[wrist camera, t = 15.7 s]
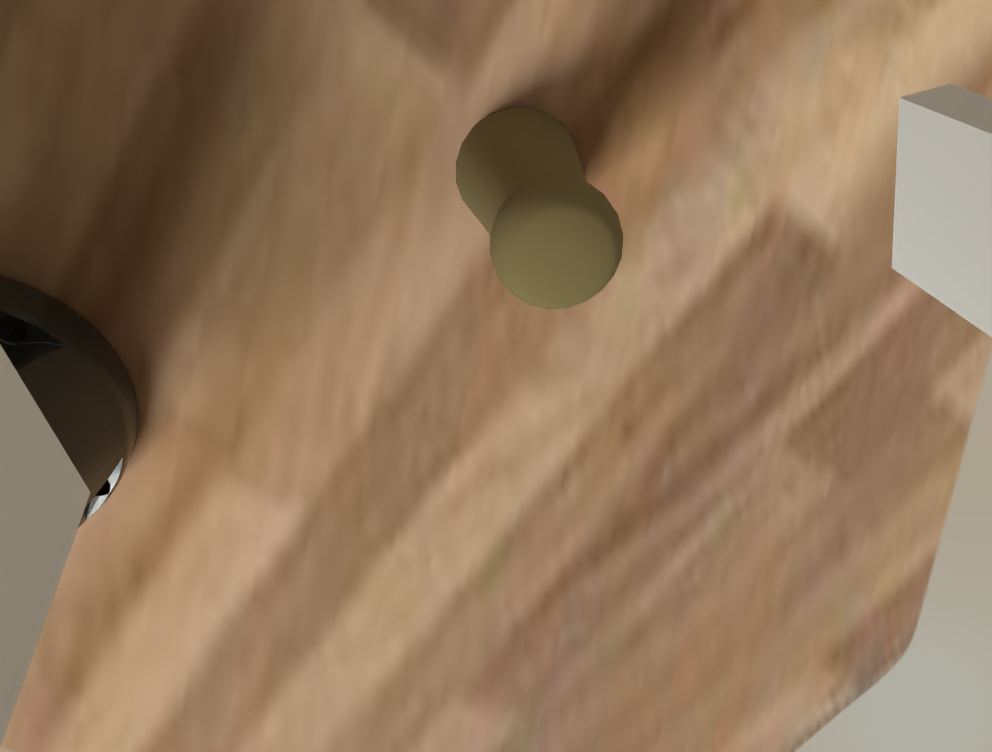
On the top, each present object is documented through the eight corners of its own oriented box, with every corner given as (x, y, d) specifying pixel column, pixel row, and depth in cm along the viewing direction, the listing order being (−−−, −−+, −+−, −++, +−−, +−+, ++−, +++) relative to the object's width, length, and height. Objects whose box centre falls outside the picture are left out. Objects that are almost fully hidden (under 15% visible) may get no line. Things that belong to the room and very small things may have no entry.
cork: (466, 239, 43) (498, 346, 34) (445, 119, 40) (473, 200, 30) (584, 216, 43) (648, 315, 34) (572, 95, 40) (639, 168, 31)
